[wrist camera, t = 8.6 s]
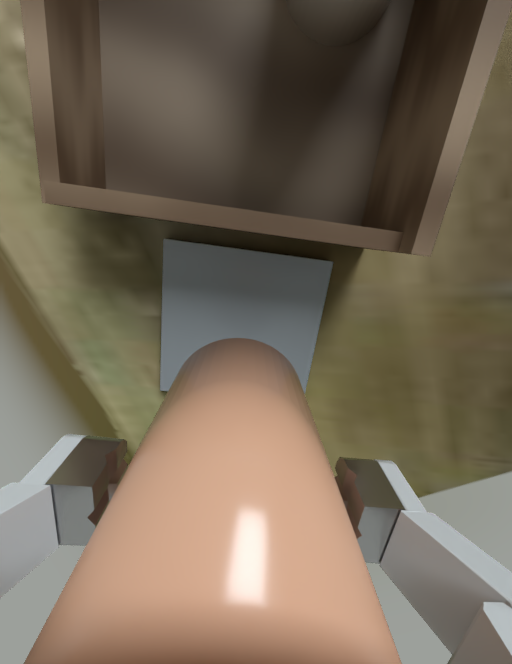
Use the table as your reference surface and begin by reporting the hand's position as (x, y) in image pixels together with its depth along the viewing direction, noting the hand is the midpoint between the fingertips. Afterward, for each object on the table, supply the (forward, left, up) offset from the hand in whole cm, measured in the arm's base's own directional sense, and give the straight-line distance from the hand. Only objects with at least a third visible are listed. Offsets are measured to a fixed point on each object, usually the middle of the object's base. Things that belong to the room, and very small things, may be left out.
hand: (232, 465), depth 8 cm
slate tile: (0, 0, -12) cm, 12 cm away
